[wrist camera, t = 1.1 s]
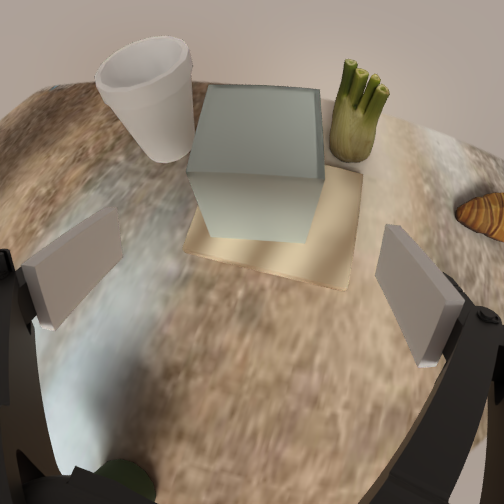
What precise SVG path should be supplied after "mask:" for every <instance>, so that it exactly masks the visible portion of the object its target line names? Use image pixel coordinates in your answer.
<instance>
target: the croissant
mask: <svg viewBox="0 0 504 504" xmlns="http://www.w3.org/2000/svg"><path fill="white" fill-rule="evenodd" d="M456 219H457V221H458V222H460V223H461V224H462V225H464V226H465V227H467V228H469V229H471V230H472V231H474V232H476V233H482V234H484V235H486V236H487V237H490V238H492V239H494V240H497V241H501V242H504V193H491V194H486V195H484V196H483V197H475V198H474V199H472V200H470V201H468V202H466V203H465V204H463V205H461V206H460V207H458V208H457V210H456Z"/></svg>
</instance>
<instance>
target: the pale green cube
mask: <svg viewBox="0 0 504 504" xmlns="http://www.w3.org/2000/svg"><path fill="white" fill-rule="evenodd" d="M186 173H187V176H188V179H189V181H190V184H191V187H192V189H193V192H194V195H195V197H196V200H197V203H198V205H199V208H200V211H201V213H202V216H203V218H204V221H205V224H206V226H207V229H208V231H209V234H210V237H217V238H232V239H247V240H262V241H276V242H290V243H304V244H305V242H306V239H307V236H308V233H309V230H310V227H311V223H312V220H313V217H314V214H315V211H316V207H317V204H318V201H319V198H320V194H321V191H322V188H323V184H324V181H325V165H324V144H323V127H322V113H321V100H320V90H319V89H310V88H298V87H286V86H267V85H209V86H208V89H207V93H206V96H205V100H204V103H203V107H202V110H201V114H200V118H199V121H198V125H197V129H196V133H195V137H194V140H193V144H192V148H191V152H190V157H189V161H188V165H187V169H186Z"/></svg>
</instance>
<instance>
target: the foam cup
mask: <svg viewBox="0 0 504 504" xmlns="http://www.w3.org/2000/svg"><path fill="white" fill-rule="evenodd" d="M192 67H193V65H192V60H191V55H190V51H189V47H188V46H187V45H186V43H185V42H184V41H183V40H182V39H179V38H175V37H172V36H157V37H149V38H145V39H142V40H139V41H136V42H132V43H130V44H128V45H127V46H125V47H123V48H121V49H119V50H117V51H116V52H114V53H113V54H112V55H111V56H109V58H107V59H106V60H105V61H104V62H103V63H102V64H101V65H100V67H99V69H98V71H97V72H96V74H95V82H96V87H97V89H98V91H99V93H100V95H101V97H102V99H103V101H104V103H105V104H107V105H109V106H110V108H111V109H112V110H113V111H114V113H115V114H116V115H117V117H118V118H119V119H120V121H121V122H122V123H123V125H124V126H125V127H126V129H127V130H128V131H129V133H130V134H131V135H132V137H133V138H134V139H135V140H136V142H137V143H138V144H139V146H140V147H141V148H142V150H143V151H144V152H145V154H146V155H148V157H149V158H150V159H152V160H153V161H155V162H159V163H169V162H173V161H177V160H179V159H181V158H182V157H184V156H185V155H187V154H188V153H189V151H190V150H191V148H192V144H193V140H194V137H195V128H194V114H193V98H192V81H191V71H192Z"/></svg>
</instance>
